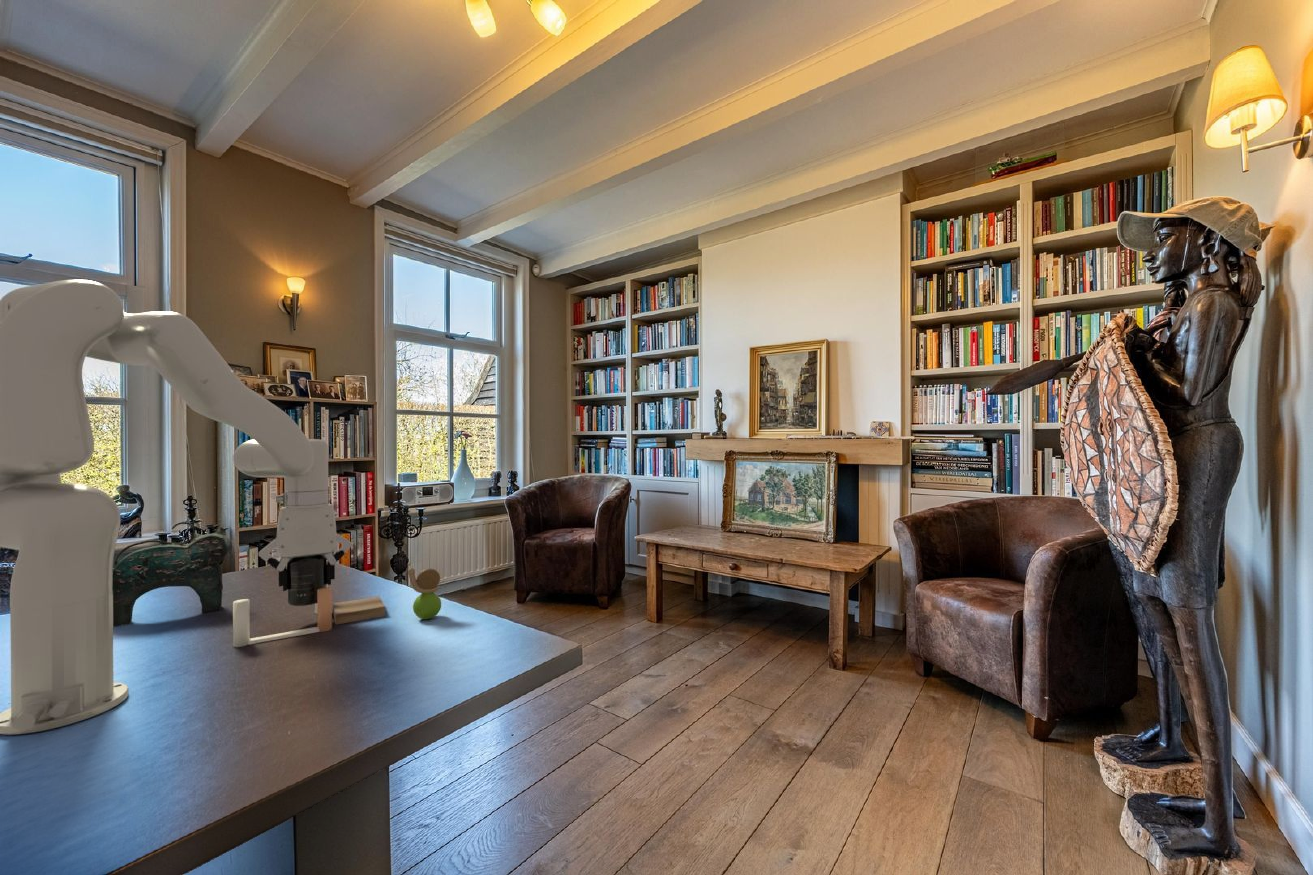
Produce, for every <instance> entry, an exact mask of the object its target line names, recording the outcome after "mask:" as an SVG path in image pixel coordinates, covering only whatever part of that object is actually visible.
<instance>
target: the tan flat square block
mask: <svg viewBox="0 0 1313 875" xmlns="http://www.w3.org/2000/svg"><path fill="white" fill-rule="evenodd" d="M332 616H333V619H334V623H335V625H342V624H346V623H348V624H349V623H353V622H358V621H364V620H368V619H375V618H381V617H385V616H386V606H385V604H384V602H383V600H382V599H381V596H373V597H365V598H360V599H352V600H347V601H341V602H335V603H333V602H332Z"/></svg>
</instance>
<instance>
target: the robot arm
mask: <svg viewBox="0 0 1313 875" xmlns="http://www.w3.org/2000/svg"><path fill="white" fill-rule="evenodd" d="M85 358H90V359H94V360H100V361H104V362H105V361H106V362H110V363H115V364H122V365H128V366H137V367H138V366H139V367H140V366H152V367H153V368H154V369H155V370H156V371H157V372H158V373H159V375H160V376H162V378H163V379H164V380H165V381H166V383H167V384H169V386H171V388H172V389H173V390H174V391H175V392H176V393H177V395H178V396H179V397H180V398H181V399H182V401H183V402H184V403H186V405H187V406H188V407H189V408H190V409H191V410H192V411H194V412H196V413H197V414H199V415H202V416H204V417H206V418H207V419H210V420H212V421H216V422H218V423H222V424H225V425H226V426H227V425H228V426H229V427H232V428H235V429H237V430H239V431H240V432H242V433H244V434H246V435H247V436H248V437H250V438H251V439H249V440H246V441H245V442H242V443H241V444H240V445H238V446H237V447H236V449H235V451H234V453H233V455H232V457H233V458H232V460H233V461H232V462H233V464H234V466H235V467H236V469H237V470H238V471H239V472H241V473H242V474H244V475H246V476H250V477H254V478H283V479H284V481H283V482H284V492H283V493H282V494H278V495H277V494H276V495H275V502H276V503H282V504H284V506H282V507H280V509H279V512H278V516H277V526H276V528H277V529H276V537H275V539H273V540H272V541H271V542H269V543H268V544H267V545H266V546H264V547H263V548H262V549H260V551H258V557H260V558H261V559H262V560H264V561H265V563H267V564H268V565H269V566H271V567H272V568H273V569H275V570H277V572H278V587H282V592H286V591H287V563H288V561H289V559H291V558H296V557H305V556H314V555H324V556H325V557H326V561H327V584H328V585H330V586H331V585H332V580H335V577H336V576H335V575H336V572H335V570H336V566H335V565H336V564H337V562H339V561H340V560H341V558H343V556H344V555H345V554H346V553H347V552H348V550H350V549H351V548H352V547H353V543H352V542H351V541H350V540H348V539H347V538H345V537H344V536H342V535H340V534H339V533H337V524H336V514H335V508H334V506H333V504H331V503H329V445H328V443H327V442H326V441H325V440H324V439H317V438H315V439H314V438H311V439H310V438H308V437H307V436H306V434H305V433H304V432H303V430H301V428H300V426H298V424H297V423H296V421H295V420H294V419H293V418H291V417H290V415H289V414H287V413H286V412H285V411H284V410H283V409H281V408H280V407H278V406H277V405H275V404H274V403H272V402H271V401H270V400H268V399H266V398H265V397H264V396H263V395H261V394H260V393H258V392H257V391H255V390H253V389H252V388H249V387H248V386H247V385H245V383H244V382H243V381H242V380H241V379H240V378H239V376H238V375H237V374H236V373H235V371H234V370H233V369H232V367H230V365H229V364H228V362H227V361H226V360H225V359H224V357H223V356H222V355H221V354H220V353H219V351H218V350H217V349H216V348H215V346H214V345H213V344H212V343H211V341H210V340H209V339H208V338H207V336H206V335H205V333H204V332H203V331H202V330H201V329H200V328H199V326H198V325H197V324H196V323H195V322H194V320H192V319H190V318H189V317H188V316H186V315H184V314H182V313H179V312H175V311H167V310H165V311H164V310H163V311H160V310H159V311H146V312H139V313H127V312H125V306H124V303H123V301H122V299H121V298H120V296H119V295H118V294H117V293H116V291H114V290H113V289H112V288H110V287H109V286H107V285H105V284H103V283H100V282H98V281H93V280H88V279H64V280H56V281H52V282H51V281H50V282H45V283H40V284H34V285H27V286H23V287H19V288H15V289H14V290H11V291H9V292H8V293H7V294H5V295H3V296H2V297H1V299H0V548H4V549H9V550H16V551H17V550H18V554H17V558H16V561H15V564H14V567H13V571H12V574H11V580H10V587H9V608H10V609H9V611H10V620H9V621H10V624H9V626H10V630H9V631H10V707H8V708H7V709H5V710H3V711H2V712H0V735H6V736H7V735H9V736H11V735H14V736H15V735H23V734H24V735H25V734H32V733H33V734H34V733H37V732H43V731H48V730H52V729H56V728H57V729H58V728H61V727H65V726H69V725H72V724H75V723H78V722H81V721H85V720H88V719H91V718H93V717H96V716H98V715H101V714H103V713H105V712H107V711H109V710H111V709H112V708H114V707H116V706H118V705H119V704H121V703H122V702H124V701H125V700H126V699H127V697H129V691H130V690H129V685H128V684H125V683H124V682H116V681H114V627H113V569H114V560H115V558H114V557H115V551H116V546H117V541H118V537H119V534H120V527H121V512H120V508H119V507H118V506H119V505H118V504H117V502H116V501H115V500H114V498H112V496H110V495H109V494H108V493H106V492H104V491H103V490H101V489H99V488H97V487H94V486H91V485H87V484H81V483H80V484H79V483H73V482H72V483H70V482H69V483H67V482H66V483H65V482H62V479H61V474H66V473H70V472H72V471H75V470H77V469H80V468H81V467H83V466H84V465H85V464H86V463H87V462H89V460H90V459H91V458H92V456H93V454H94V450H95V440H94V434H93V429H92V426H91V420H90V416H89V410H88V405H87V400H86V394H85V390H84V381H83V367H84V362H85V360H86V359H85ZM337 542H338V543H339V544H341V547H340V548H339V550H337ZM275 549H276V555H277V556H278V558H280V559H277V558H275V557H274V556H272V554H270V553H271V552H272V551H273V550H275ZM336 550H337V551H336ZM335 551H336V552H335ZM333 552H335V553H334V554H333Z"/></svg>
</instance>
